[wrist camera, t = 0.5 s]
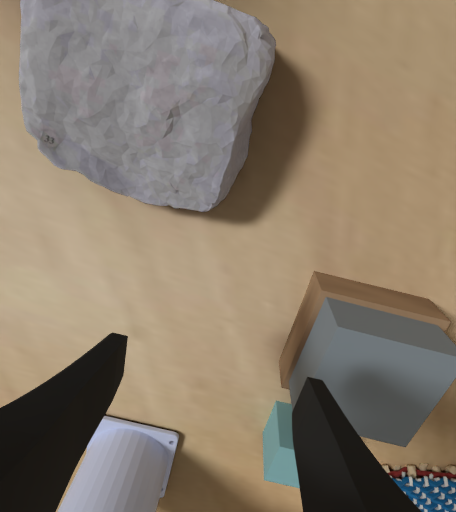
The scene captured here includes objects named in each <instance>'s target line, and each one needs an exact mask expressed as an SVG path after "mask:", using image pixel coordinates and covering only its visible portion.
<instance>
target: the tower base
mask: <svg viewBox="0 0 456 512" xmlns="http://www.w3.org/2000/svg"><path fill="white" fill-rule="evenodd" d="M326 297H329V298H333V299H337V300H341V301H345V302H349V303H352V304H356V305H360V306H364V307H368V308H372V309H376V310H380V311H384V312H388V313H392V314H396V315H400V316H403V317H407V318H411V319H415V320H419V321H423V322H427V323H431V324H435V325H438V326H439V327H440V328H441V330H442V331H443V332H445V331H446V329H447V327H448V326H449V324H450V323H451V321H450V320H449V319H448V318H447V317H446V316H445V315H444V314H443V313H442V312H441V311H440V310H439V309H438V308H437V307H436V306H435V305H434V304H433V303H432V302H431V301H430V300H429V299H426V298H422V297H418V296H414V295H410V294H406V293H402V292H397V291H393V290H389V289H385V288H381V287H377V286H373V285H369V284H365V283H361V282H356V281H352V280H348V279H344V278H340V277H336V276H332V275H328V274H324V273H320V272H315V271H314V273H313V275H312V278H311V280H310V283H309V285H308V288H307V291H306V293H305V296H304V298H303V301H302V303H301V306H300V309H299V311H298V314H297V316H296V319H295V321H294V324H293V327H292V329H291V332H290V334H289V337H288V339H287V342H286V345H285V347H284V350H283V352H282V355H281V357H280V360H279V367H280V377H281V386H282V388H285V389H290V388H289V380H290V378H291V375H292V373H293V371H294V368H295V366H296V364H297V362H298V359H299V357H300V355H301V352H302V350H303V348H304V346H305V343H306V341H307V339H308V336H309V334H310V332H311V330H312V327H313V325H314V323H315V320H316V318H317V316H318V314H319V311H320V309H321V307H322V304H323V302H324V300H325V298H326Z"/></svg>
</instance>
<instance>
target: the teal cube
mask: <svg viewBox="0 0 456 512" xmlns="http://www.w3.org/2000/svg"><path fill="white" fill-rule="evenodd" d="M263 460H264V480H266V481H270V482H275V483H279V484H283V485H288V486H292V487H297V488H300V486H299V479H298V473H297V466H296V460H295V453H294V446H293V436H292V404H288V403H284V402H279V401H276V402H275V405H274V407H273V410H272V412H271V414H270V417H269V419H268V421H267V424H266V426H265V429H264V431H263Z"/></svg>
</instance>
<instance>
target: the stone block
mask: <svg viewBox="0 0 456 512" xmlns="http://www.w3.org/2000/svg"><path fill="white" fill-rule="evenodd" d="M20 8H21V16H22V19H21V42H20V65H19V67H20V69H19V87H20V95H21V102H22V113H23V118H24V124H25V127H26V130H27V132H28V133H30V134H31V135H32V136H33V137H34V138H35V139H36V140H38V149H39V151H40V152H41V153H42V154H43V155H45V156H46V157H47V158H48V159H49V160H50V161H51V162H52V164H53V165H55V166H57V167H59V168H61V169H66V170H73V171H77V172H79V173H81V174H83V175H85V176H86V177H87V178H88V179H89V180H90V181H92V182H94V183H96V184H98V185H100V186H103V187H105V188H107V189H109V190H111V191H113V192H116V193H119V194H122V195H125V196H130V197H132V198H134V199H137V200H139V201H141V202H144V203H147V204H152V205H159V206H167V205H170V206H172V207H173V208H185V209H189V210H196V211H200V212H205V211H209V210H211V209H212V208H214V207H215V206H217V205H218V204H219V203H220V202H221V201H222V200H224V199H225V197H226V196H227V195H228V193H229V191H230V188H231V187H232V185H233V183H234V181H235V179H236V177H237V174H238V173H239V171H240V170H241V169H242V167H243V165H244V162H245V160H246V158H247V156H248V148H249V139H250V134H251V133H252V124H251V119H252V116H253V113H254V111H255V109H256V106H257V104H258V101H259V97H260V96H261V95H262V93H263V90H264V87H265V86H266V85H267V83H268V82H269V79H270V75H271V71H272V67H273V64H274V61H275V47H276V42H275V39H274V37H273V36H272V35H271V34H270V32H269V28H268V27H267V26H266V25H264V24H262V23H261V22H260V21H259V20H258V19H257V18H256V17H253V16H250V15H248V14H245V13H243V12H240V11H238V10H236V9H234V8H232V7H229V6H227V5H224V4H222V3H219V2H217V1H214V0H21V1H20Z"/></svg>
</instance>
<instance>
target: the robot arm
mask: <svg viewBox="0 0 456 512" xmlns="http://www.w3.org/2000/svg"><path fill="white" fill-rule="evenodd" d="M127 338H128V336H125V335H121V334H116V333H111V334H109V335H108V336H107V337H106V338H104V339H103V340H102V341H101V342H99V343H98V344H97V345H96V346H94V347H93V348H92V349H91V350H89V351H88V352H87V353H86V354H84V355H83V356H82V357H80V358H79V359H78V360H76V361H75V362H74V363H72V364H71V365H69V366H68V367H67V368H65V369H64V370H62V371H61V372H59V373H58V374H56V375H55V376H53V377H52V378H51V379H49V380H48V381H46V382H45V383H43V384H41V385H40V386H38V387H37V388H35V389H33V390H32V391H30V392H28V393H27V394H25V395H23V396H21V397H20V398H18V399H16V400H14V401H13V402H11V403H9V404H7V405H5V406H3V407H1V408H0V512H56V509H57V507H58V505H59V502H60V500H61V498H62V496H63V494H64V491H65V489H66V487H67V485H68V483H69V480H70V478H71V476H72V474H73V472H74V470H75V468H76V466H77V464H78V462H79V460H80V458H81V456H82V454H83V453H84V451H85V449H86V447H87V454H86V456H85V458H84V460H83V462H82V464H81V466H80V468H79V470H78V472H77V474H76V476H75V478H74V480H73V482H72V484H71V486H70V488H69V490H68V492H67V494H66V496H65V498H64V500H63V502H62V504H61V506H60V508H59V510H58V512H156V509H157V505H158V501H159V498H162V497H164V494H165V490H166V487H167V483H168V479H169V475H170V471H171V467H172V463H173V459H174V455H175V451H176V447H177V443H178V439H179V435H178V433H176V432H174V431H169V430H165V429H160V428H156V427H152V426H147V425H143V424H139V423H134V422H130V421H126V420H121V419H117V418H112V417H108V416H104V415H105V413H106V412H107V410H108V408H109V406H110V404H111V403H112V401H113V398H114V396H115V394H116V392H117V389H118V387H119V384H120V382H121V380H122V377H123V373H124V365H125V356H126V347H127ZM292 436H293V446H294V453H295V460H296V466H297V473H298V479H299V486H300V492H301V499H302V506H303V512H422V511H421V510H420V509H419V508H418V507H417V506H416V505H415V504H414V503H413V502H412V501H411V500H410V499H409V497H408V496H407V495H406V494H405V493H404V492H403V491H402V490H401V488H400V487H399V486H398V485H397V484H396V483H395V481H394V480H393V479H392V478H391V477H390V475H389V474H388V473H387V472H386V471H385V470H384V468H383V467H382V466H381V465H380V463H379V462H378V461H377V459H376V458H375V457H374V456H373V454H372V453H371V451H370V450H369V449H368V447H367V446H366V445H365V443H364V442H363V441H362V439H361V438H360V436H359V435H358V434H357V432H356V431H355V429H354V428H353V426H352V425H351V423H350V422H349V420H348V419H347V417H346V416H345V414H344V413H343V411H342V410H341V408H340V407H339V405H338V404H337V402H336V400H335V399H334V397H333V396H332V394H331V393H330V391H329V389H328V388H327V386H326V385H325V383H324V382H323V380H320V379H316V378H311V377H307V379H306V381H305V383H304V386H303V388H302V390H301V393H300V395H299V397H298V400H297V402H296V404H295V407H294V409H293V411H292Z"/></svg>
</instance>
